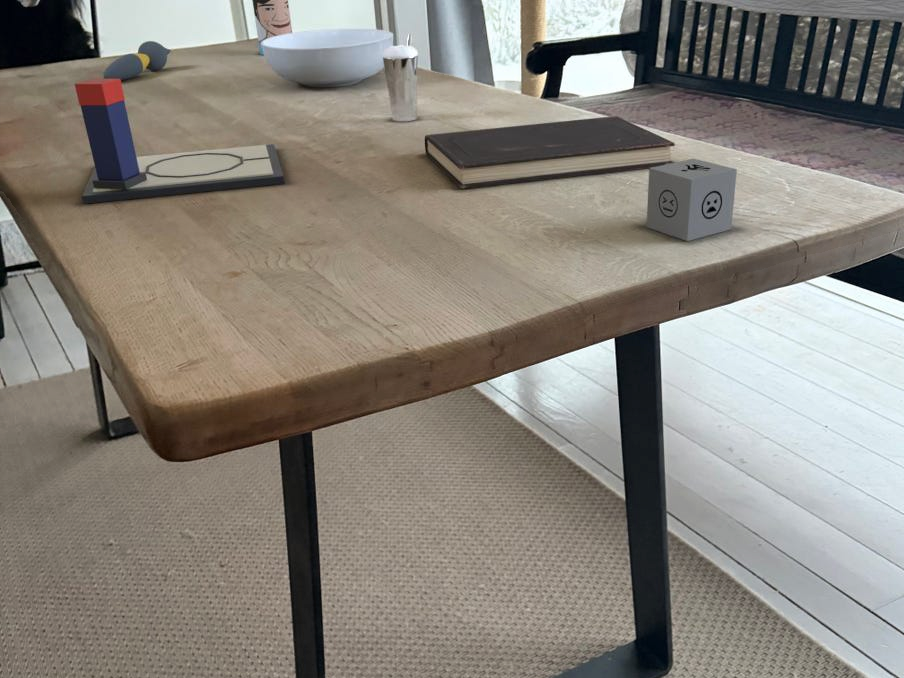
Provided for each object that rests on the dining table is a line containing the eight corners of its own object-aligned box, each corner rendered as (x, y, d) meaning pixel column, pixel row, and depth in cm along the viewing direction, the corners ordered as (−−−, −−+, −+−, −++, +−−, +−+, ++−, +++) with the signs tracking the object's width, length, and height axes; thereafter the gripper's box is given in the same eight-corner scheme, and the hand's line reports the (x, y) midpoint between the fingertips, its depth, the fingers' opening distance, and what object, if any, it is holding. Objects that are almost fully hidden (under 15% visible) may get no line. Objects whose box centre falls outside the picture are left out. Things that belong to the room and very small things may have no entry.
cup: (261, 56, 185) (248, -31, 177) (259, 51, 190) (247, -32, 183) (296, 53, 186) (285, -33, 178) (293, 49, 192) (282, -35, 184)
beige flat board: (83, 204, 95) (81, 193, 95) (98, 167, 109) (96, 157, 108) (284, 183, 99) (283, 173, 99) (275, 150, 113) (273, 141, 112)
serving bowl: (240, 87, 153) (233, 41, 150) (337, 68, 167) (333, 26, 163) (326, 99, 141) (320, 49, 138) (423, 77, 155) (420, 31, 151)
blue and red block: (93, 188, 97) (68, 84, 92) (115, 178, 100) (92, 77, 95) (126, 189, 96) (102, 84, 91) (147, 179, 99) (125, 78, 94)
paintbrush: (126, 84, 160) (119, 52, 158) (99, 85, 161) (92, 53, 159) (179, 66, 177) (174, 37, 174) (154, 67, 178) (149, 38, 175)
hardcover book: (673, 165, 100) (674, 142, 98) (460, 189, 95) (459, 165, 93) (613, 135, 113) (614, 114, 112) (425, 154, 108) (423, 133, 107)
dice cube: (731, 229, 80) (736, 169, 78) (687, 241, 78) (691, 179, 76) (689, 216, 84) (693, 158, 81) (646, 227, 82) (649, 168, 79)
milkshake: (430, 115, 128) (425, 34, 123) (412, 123, 123) (406, 40, 118) (400, 113, 129) (394, 34, 124) (381, 121, 125) (374, 39, 120)
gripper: (-48, -81, 100) (57, 19, 102) (-216, -76, 83) (-86, 44, 85) (-25, -133, 97) (82, -28, 99) (-195, -139, 79) (-61, -12, 82)
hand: (3, 6), depth 92 cm, fingers open, 8 cm apart
